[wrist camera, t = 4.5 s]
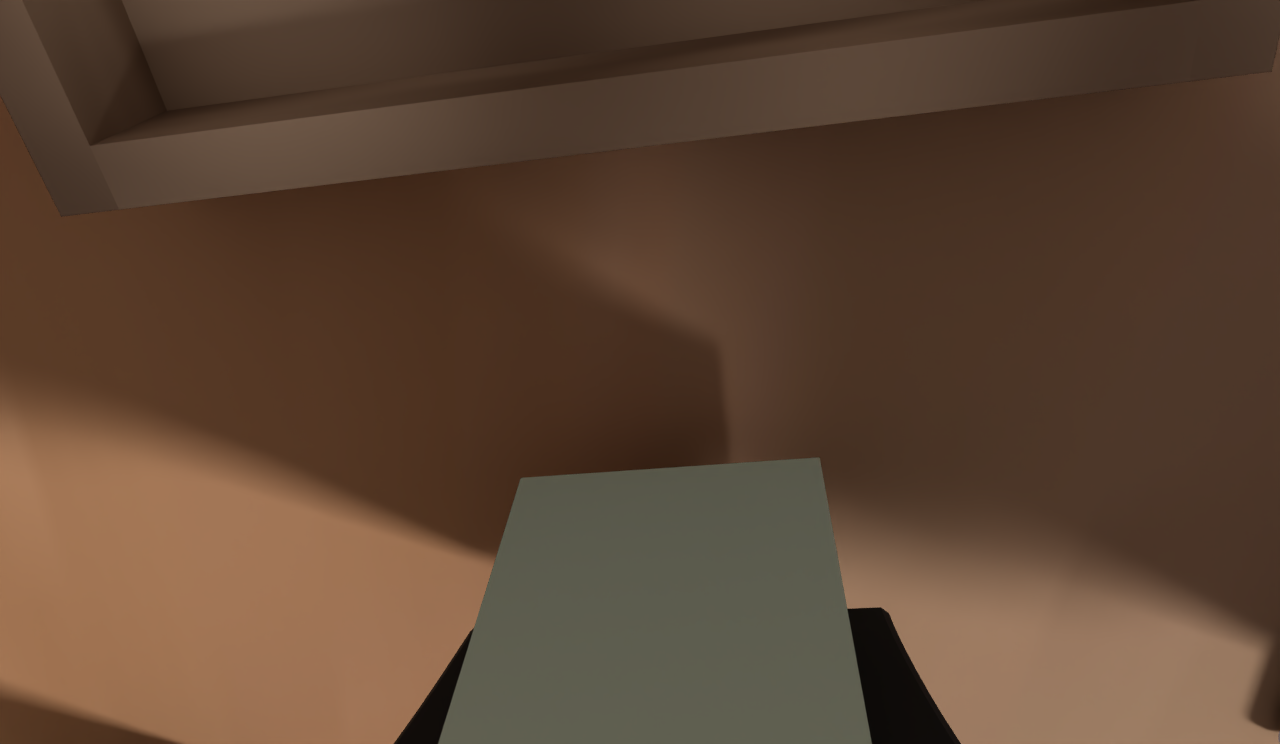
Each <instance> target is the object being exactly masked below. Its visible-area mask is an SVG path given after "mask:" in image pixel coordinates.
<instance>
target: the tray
mask: <svg viewBox="0 0 1280 744" xmlns="http://www.w3.org/2000/svg"><path fill="white" fill-rule="evenodd" d="M1279 36H1280V0H0V95H1V97H2V99H3V101H4V103H5V105H6V107H7V109H8V111H9V113H10V115H11V117H12V119H13V121H14V123H15V125H16V127H17V129H18V131H19V133H20V135H21V137H22V139H23V141H24V143H25V145H26V147H27V149H28V151H29V153H30V155H31V157H32V159H33V161H34V163H35V165H36V167H37V169H38V171H39V173H40V175H41V177H42V179H43V181H44V183H45V185H46V187H47V189H48V191H49V193H50V195H51V197H52V199H53V201H54V203H55V205H56V207H57V209H58V211H59V213H60V215H61V216H70V215H78V214H86V213H95V212H103V211H111V210H120V209H128V208H137V207H145V206H153V205H162V204H170V203H178V202H187V201H195V200H203V199H212V198H220V197H228V196H237V195H245V194H253V193H262V192H270V191H278V190H287V189H295V188H304V187H312V186H320V185H329V184H337V183H345V182H354V181H362V180H370V179H379V178H387V177H395V176H404V175H412V174H420V173H429V172H437V171H445V170H454V169H462V168H471V167H479V166H487V165H496V164H504V163H512V162H521V161H529V160H537V159H546V158H554V157H562V156H571V155H579V154H587V153H596V152H604V151H612V150H621V149H629V148H638V147H646V146H654V145H663V144H671V143H679V142H688V141H696V140H704V139H713V138H721V137H729V136H738V135H746V134H754V133H763V132H771V131H779V130H788V129H796V128H804V127H813V126H821V125H830V124H838V123H846V122H855V121H863V120H871V119H880V118H888V117H896V116H905V115H913V114H921V113H930V112H938V111H946V110H955V109H963V108H971V107H980V106H988V105H997V104H1005V103H1013V102H1022V101H1030V100H1038V99H1047V98H1055V97H1063V96H1072V95H1080V94H1088V93H1097V92H1105V91H1113V90H1122V89H1130V88H1138V87H1147V86H1155V85H1164V84H1172V83H1180V82H1189V81H1197V80H1205V79H1214V78H1222V77H1230V76H1239V75H1247V74H1255V73H1264V72H1272V67H1273V63H1274V58H1275V54H1276V49H1277V45H1278V40H1279Z"/></svg>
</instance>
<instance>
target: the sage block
mask: <svg viewBox="0 0 1280 744" xmlns="http://www.w3.org/2000/svg"><path fill="white" fill-rule="evenodd" d="M438 744H872V742H871V736H870V731H869V725H868V720H867V714H866V709H865V703H864V698H863V692H862V687H861V681H860V676H859V671H858V665H857V660H856V654H855V649H854V643H853V638H852V632H851V627H850V621H849V616H848V610H847V605H846V599H845V594H844V588H843V583H842V577H841V572H840V566H839V561H838V555H837V550H836V544H835V539H834V534H833V528H832V523H831V517H830V512H829V506H828V501H827V495H826V490H825V484H824V479H823V473H822V468H821V462H820V457H817V458H803V459H788V460H773V461H759V462H744V463H730V464H715V465H701V466H686V467H672V468H657V469H643V470H628V471H613V472H599V473H584V474H570V475H555V476H541V477H526V478H521V479H520V482H519V485H518V488H517V492H516V495H515V498H514V501H513V505H512V508H511V511H510V514H509V517H508V521H507V524H506V527H505V530H504V534H503V537H502V540H501V543H500V546H499V550H498V553H497V556H496V559H495V562H494V566H493V569H492V572H491V575H490V579H489V582H488V585H487V588H486V591H485V595H484V598H483V601H482V604H481V607H480V611H479V614H478V617H477V620H476V624H475V627H474V630H473V633H472V636H471V640H470V643H469V646H468V649H467V652H466V656H465V659H464V662H463V665H462V669H461V672H460V675H459V678H458V681H457V685H456V688H455V691H454V694H453V698H452V701H451V704H450V707H449V710H448V714H447V717H446V720H445V723H444V726H443V730H442V733H441V736H440V739H439V743H438Z"/></svg>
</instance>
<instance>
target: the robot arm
mask: <svg viewBox="0 0 1280 744" xmlns="http://www.w3.org/2000/svg"><path fill="white" fill-rule="evenodd" d="M847 610H848V616H849V621H850V627H851V632H852V638H853V643H854V649H855V654H856V660H857V665H858V671H859V676H860V681H861V687H862V692H863V698H864V703H865V709H866V714H867V720H868V725H869V731H870V736H871V742H872V744H961V743H960V742H959V740H958V739H957V737H956V736H955V734H954V732H953V731H952V729H951V728H950V726H949V725H948V723H947V722H946V720H945V718H944V717H943V715H942V714H941V712H940V710H939V709H938V707H937V705H936V704H935V702H934V700H933V699H932V697H931V695H930V694H929V692H928V690H927V688H926V687H925V685H924V683H923V681H922V680H921V678H920V676H919V674H918V673H917V671H916V669H915V667H914V665H913V663H912V661H911V660H910V658H909V656H908V654H907V652H906V650H905V648H904V646H903V644H902V642H901V640H900V638H899V636H898V633H897V631H896V629H895V627H894V625H893V622H892V620H891V617H890V615H889V613H888V612H886V611H885V610H884V609H882V608H881V607H880V608H858V609H847ZM473 630H474V628H473V629H472V630H471V631H470V633H469V634H468V636H467V637H466V639H465V640H464V642H463V643H462V645H461V646H460V648H459V649H458V651H457V653H456V654H455V656H454V657H453V659H452V660H451V662H450V663H449V665H448V666H447V668H446V669H445V671H444V672H443V674H442V675H441V677H440V678H439V680H438V681H437V683H436V684H435V686H434V687H433V689H432V690H431V692H430V693H429V695H428V696H427V697H426V699H425V700H424V702H423V703H422V705H421V706H420V708H419V709H418V711H417V712H416V714H415V715H414V716H413V718H412V719H411V720H410V722H409V723H408V725H407V726H406V727H405V729H404V730H403V732H402V733H401V734H400V736H399V737H398V739H397V740H396V741H395V743H394V744H438V743H439V739H440V736H441V733H442V730H443V726H444V723H445V720H446V717H447V714H448V710H449V707H450V704H451V701H452V698H453V694H454V691H455V688H456V685H457V681H458V678H459V675H460V672H461V669H462V665H463V662H464V659H465V656H466V652H467V649H468V646H469V643H470V640H471V636H472V633H473ZM1279 742H1280V732H1279Z"/></svg>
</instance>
